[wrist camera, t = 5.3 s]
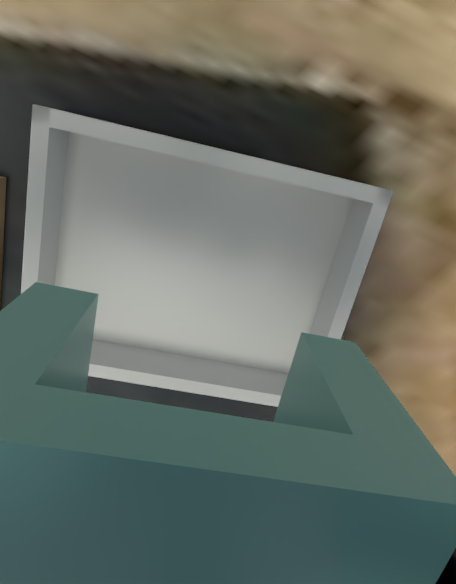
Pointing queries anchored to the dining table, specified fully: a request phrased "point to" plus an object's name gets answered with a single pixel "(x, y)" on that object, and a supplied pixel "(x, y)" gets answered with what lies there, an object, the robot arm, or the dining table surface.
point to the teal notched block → (208, 472)
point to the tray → (193, 253)
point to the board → (2, 224)
